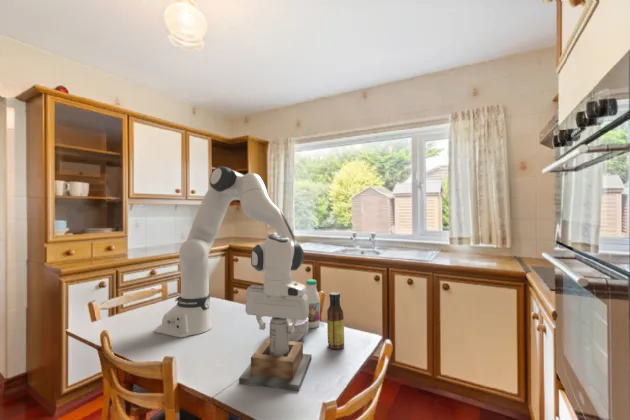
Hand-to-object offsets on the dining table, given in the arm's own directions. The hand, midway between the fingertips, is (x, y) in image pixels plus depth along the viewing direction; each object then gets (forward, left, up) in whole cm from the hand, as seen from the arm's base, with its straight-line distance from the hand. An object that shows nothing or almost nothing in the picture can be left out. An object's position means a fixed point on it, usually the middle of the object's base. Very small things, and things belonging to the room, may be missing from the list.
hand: (276, 330), depth 91 cm
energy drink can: (+1, +1, -11) cm, 11 cm away
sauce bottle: (+17, +21, -13) cm, 29 cm away
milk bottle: (+4, +39, -13) cm, 41 cm away
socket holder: (+1, +1, -13) cm, 13 cm away
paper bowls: (-2, +25, -13) cm, 28 cm away
